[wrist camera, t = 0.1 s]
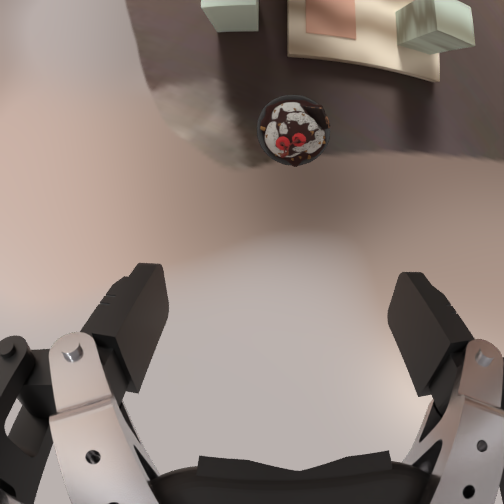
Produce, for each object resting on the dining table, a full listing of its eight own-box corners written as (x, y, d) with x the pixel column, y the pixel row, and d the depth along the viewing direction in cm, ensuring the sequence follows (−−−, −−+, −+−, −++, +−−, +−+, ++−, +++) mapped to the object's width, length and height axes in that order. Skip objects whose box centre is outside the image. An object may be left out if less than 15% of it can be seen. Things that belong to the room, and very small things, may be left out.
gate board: (286, -22, 24) (294, -67, 13) (428, 8, 23) (476, -12, 13) (287, 56, 30) (297, 32, 19) (432, 82, 29) (486, 80, 18)
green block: (218, -1, 26) (203, -32, 17) (258, -2, 26) (256, -35, 17) (217, 32, 28) (201, 7, 19) (258, 31, 28) (256, 4, 19)
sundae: (258, 150, 35) (254, 176, 22) (259, 98, 32) (256, 89, 19) (311, 153, 35) (339, 181, 22) (314, 101, 32) (345, 96, 19)
